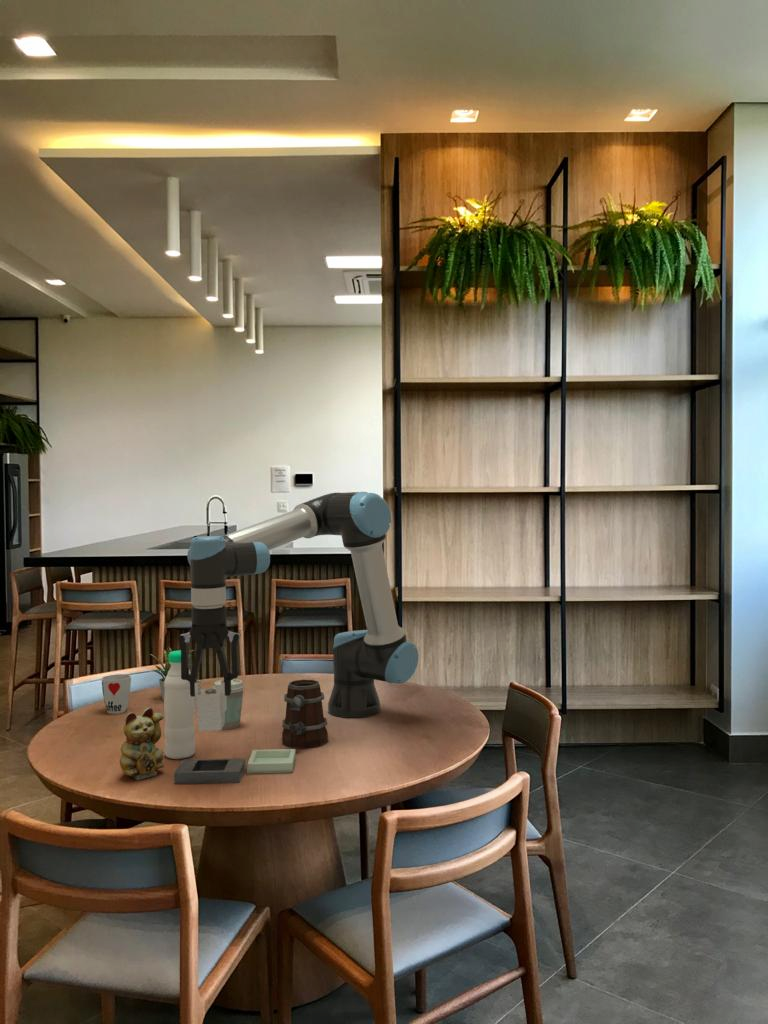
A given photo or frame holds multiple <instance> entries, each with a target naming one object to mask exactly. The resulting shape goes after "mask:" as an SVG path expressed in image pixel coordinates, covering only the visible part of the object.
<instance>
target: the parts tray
mask: <svg viewBox="0 0 768 1024" xmlns="http://www.w3.org/2000/svg"><path fill="white" fill-rule="evenodd" d="M295 761H296V748H286V749H285V748H284V749H282V748H281V749H275V748H274V749H252V751H251V753H250V757H249V759H248V761H247V765H246V767H247V768H246V769H247V773H246V774H248V775H250V774H251V775H253V774H257V775H258V774H292V773H293V771H294V766H295V763H296V762H295Z"/></svg>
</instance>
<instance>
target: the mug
mask: <svg viewBox="0 0 768 1024" xmlns="http://www.w3.org/2000/svg"><path fill="white" fill-rule="evenodd" d="M286 692H287V693H285V694H284V696H283V697H284V698H283V699H284V702H286V708H285V718H283V719H282V720H281V721H282V723H281V724H282V727H281V728H283V729H282V733H281V743H282V745H284V746H286V747H289V748H290V749H309V748H311V749H312V748H315V747H316V748H317V747H320V746H322V745H324V744H327V743H328V742H329V733H328V730H327V727H326V726H327V725H328V718H327V717H325V716H324V708H323V700H324V699H325V694H324V692H322V690H321V685H320V682H319V681H318V680H314V679H305V678H304V679H303V678H302V679H297V680H293V681H290V682H288V685H287V691H286Z"/></svg>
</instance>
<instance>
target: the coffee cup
mask: <svg viewBox="0 0 768 1024" xmlns="http://www.w3.org/2000/svg"><path fill="white" fill-rule="evenodd" d="M222 680H223V679H219V680H216V681H214V683H213V686H212V689H221V681H222ZM244 690H245V685H244V683H243V680H242V679H238V678H236V679H232V680H231V693H230V695H229V696H227V709H226V711H225V712H224V716H225V724H224V726H223V728H222V729H221V730H233V729H236V728H239V727H240V726H241V718H242V708H243V698H244V697H243V696H244Z"/></svg>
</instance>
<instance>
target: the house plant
mask: <svg viewBox="0 0 768 1024" xmlns="http://www.w3.org/2000/svg"><path fill="white" fill-rule="evenodd" d="M168 648H169V649H168ZM168 648H166V649H164V650H163V655H164V664H163V662H162V661H161V660H160V659H159V658H158V657H157V656H155V655H153V654H152V653H149V655H151V656H152V657H154V659H156V660H157V662H158V663H159V664H160V666H161V667H162V668H161V667H160V666H158V665H155V664H154V667H155V668H156V669H153V670H152V672H154V673H157V674H158V675H160V676H161V678H159V679H158V682H159V687H160V692H161V693H160V694H161V699H162V701H163V702H164V695H165V687H164V681H165V678H166V676H167V674H168V671H169V669H170V667H171V664H170V663H169V653H170V652H172V651H173V650H172V648H171V647H170V646H168ZM166 650H167V651H166ZM179 651H181V649H180V650H179ZM193 651H195V649H194V650H193V649H192V650H189V653H190V652H193ZM190 665H191V666H192V663H191V664H190V663H189V669H191V667H190Z"/></svg>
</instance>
